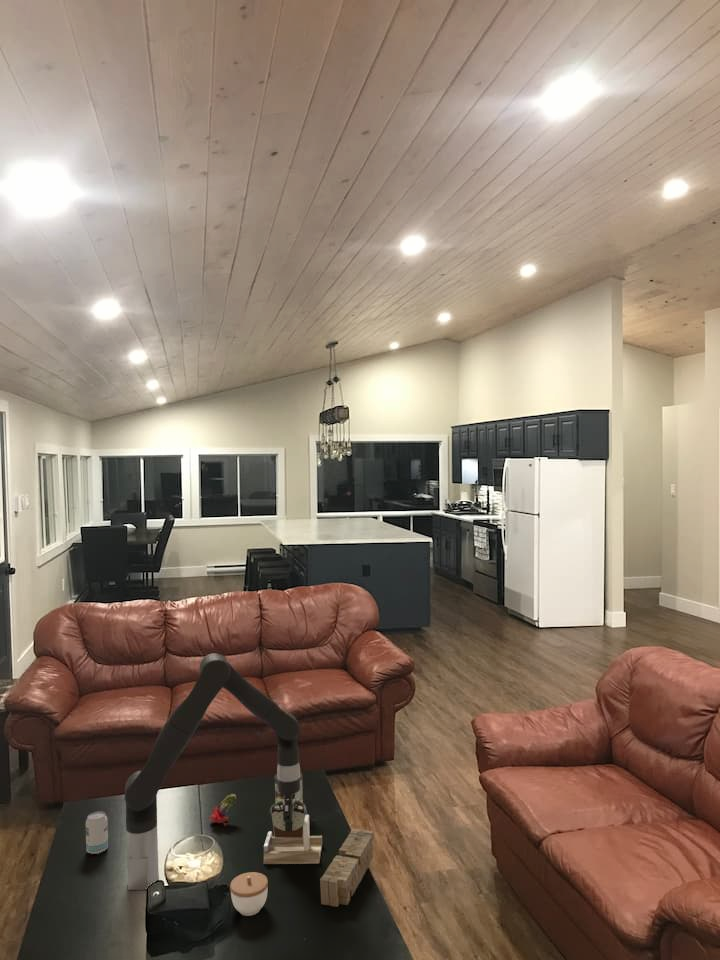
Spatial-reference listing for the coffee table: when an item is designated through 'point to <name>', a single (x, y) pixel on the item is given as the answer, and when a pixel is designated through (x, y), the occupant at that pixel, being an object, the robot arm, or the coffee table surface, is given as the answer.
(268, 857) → the lane base
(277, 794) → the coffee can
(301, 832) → the food container
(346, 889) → the block tower
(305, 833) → the pusher
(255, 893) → the lidded jar
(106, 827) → the beverage can
